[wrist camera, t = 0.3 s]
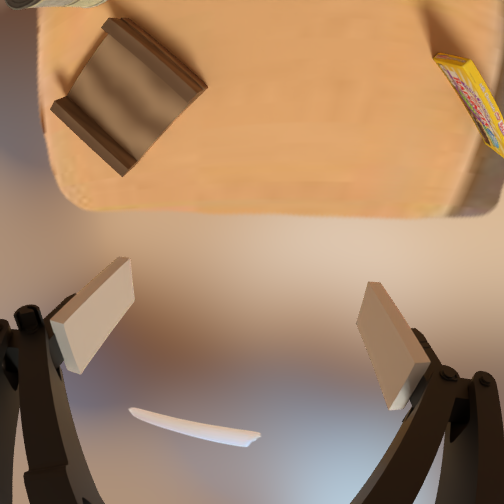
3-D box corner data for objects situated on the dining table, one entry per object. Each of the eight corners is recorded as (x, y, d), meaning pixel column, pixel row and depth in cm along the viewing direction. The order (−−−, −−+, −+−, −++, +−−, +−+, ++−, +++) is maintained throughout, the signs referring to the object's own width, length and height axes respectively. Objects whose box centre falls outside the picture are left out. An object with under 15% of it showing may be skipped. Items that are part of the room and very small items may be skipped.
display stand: (128, 18, 26) (109, 16, 22) (208, 87, 32) (198, 92, 28) (69, 102, 33) (49, 110, 29) (136, 164, 40) (121, 178, 36)
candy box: (429, 59, 26) (462, 65, 19) (438, 51, 25) (472, 56, 18) (483, 144, 31) (513, 166, 25) (490, 137, 30) (521, 158, 24)
